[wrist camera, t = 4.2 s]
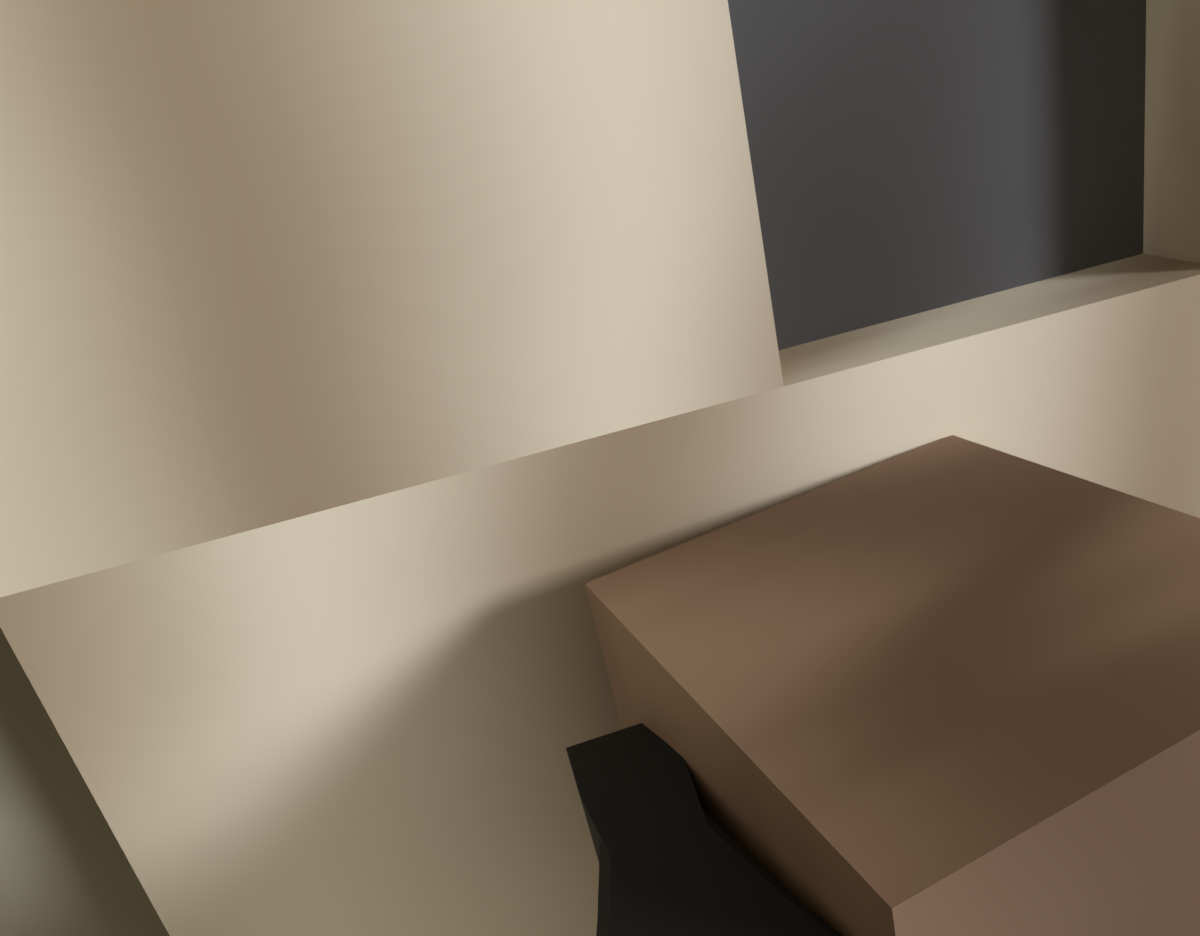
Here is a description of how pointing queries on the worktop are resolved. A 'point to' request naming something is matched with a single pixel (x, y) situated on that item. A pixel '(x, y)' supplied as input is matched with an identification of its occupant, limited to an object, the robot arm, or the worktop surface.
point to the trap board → (518, 377)
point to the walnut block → (936, 696)
